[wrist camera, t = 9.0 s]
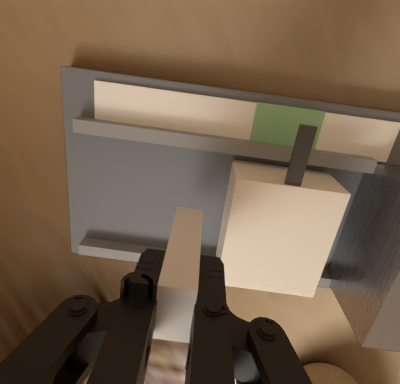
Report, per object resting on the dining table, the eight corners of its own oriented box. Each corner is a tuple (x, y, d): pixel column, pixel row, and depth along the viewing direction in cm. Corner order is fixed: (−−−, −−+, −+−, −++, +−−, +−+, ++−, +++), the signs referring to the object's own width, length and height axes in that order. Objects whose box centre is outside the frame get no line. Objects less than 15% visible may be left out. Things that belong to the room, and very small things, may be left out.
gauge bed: (78, 243, 23) (65, 260, 21) (70, 66, 18) (51, 66, 16) (353, 280, 23) (366, 301, 21) (424, 115, 18) (450, 121, 16)
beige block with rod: (216, 251, 21) (216, 284, 18) (242, 108, 17) (247, 118, 14) (298, 263, 21) (312, 297, 18) (344, 122, 17) (372, 135, 14)
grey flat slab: (319, 265, 23) (361, 346, 16) (359, 155, 19) (434, 202, 13) (357, 270, 23) (414, 354, 16) (404, 161, 19) (502, 211, 13)
